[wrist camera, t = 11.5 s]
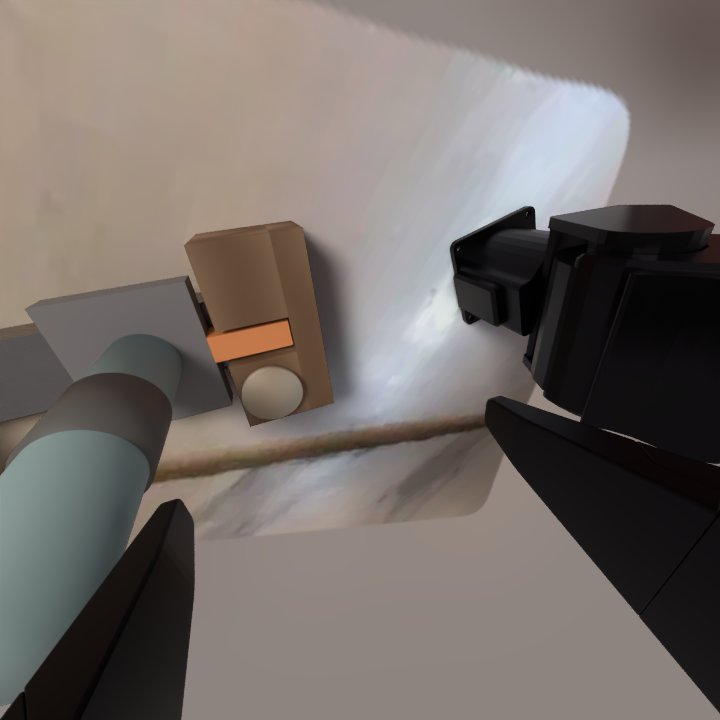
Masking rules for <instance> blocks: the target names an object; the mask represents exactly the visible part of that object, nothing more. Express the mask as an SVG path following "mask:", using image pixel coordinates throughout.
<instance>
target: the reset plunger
mask: <svg viewBox="0 0 720 720" xmlns="http://www.w3.org/2000/svg"><path fill="white" fill-rule="evenodd" d="M206 339H207V342H208V344H209V347H210V349H211V352H212V355H213V357H214V360H215V362H216V363H217V362H222V361H226V360H230V359H234V358H239V357H243V356H247V355H252V354H256V353H260V352H265V351H269V350H273V349H278V348H282V347H286V346H290V345H293V341H292V337H291V332H290V328H289V324H288V320H287V318H283V319H278V320H273V321H268V322H264V323H259V324H254V325H250V326H245V327H240V328H235V329H231V330H226V331H221V332H215V329H214V327H210V328H209V329H208V333H207V337H206Z"/></svg>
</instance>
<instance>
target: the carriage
mask: <svg viewBox="0 0 720 720" xmlns="http://www.w3.org/2000/svg"><path fill="white" fill-rule="evenodd" d="M25 310H26V312H27V313H28V315H29V316H30V317H31V319H32V320H33V322H34V323H35V325H36V326H37V328H38V329H39V331H40V332H41V334H42V335H43V337H44V338H45V340H46V341H47V343H48V344H49V345H50V347H51V348H52V350H53V351H54V353H55V354H56V356H57V357H58V359H59V360H60V362H61V363H62V365H63V366H64V368H65V369H66V371H67V372H68V373H69V375H70V376H71V378H72V379H73V381H74V383H73V384H72V385H70V386H69V387H68V388H67V389H66V390H65V391H64V393H63V394H62V395H61V396H60V397H59V398H58V399H57V401H56V402H55V403H54V404H53V405H52V406H51V407H50V409H49V410H48V411H47V412H46V413H45V414H44V415H43V417H42V418H41V419H40V420H39V421H38V422H37V423H36V425H35V426H34V427H33V428H32V429H31V430H30V431H29V433H28V434H27V435H26V436H25V437H24V438H23V439H22V441H21V442H20V443H19V444H18V445H17V446H16V447H15V449H14V450H13V451H12V452H11V454H10V455H9V457H8V459H7V462H6V466H5V471H4V472H3V473H2V474H1V475H0V706H3V705H7V704H10V703H13V701H14V700H15V699H16V697H17V696H18V695H19V693H21V692H23V691H24V687H25V685H26V684H27V683H28V681H29V680H30V679H31V677H32V676H33V675H34V673H35V672H36V671H37V669H38V668H39V667H40V665H41V664H42V663H43V661H44V660H45V659H46V657H47V656H48V655H49V653H50V652H51V650H52V649H53V648H54V646H55V645H56V644H57V642H58V641H59V640H60V638H61V637H62V636H63V634H64V633H65V632H66V630H67V629H68V628H69V626H70V625H71V624H72V622H73V621H74V620H75V618H76V617H77V616H78V614H79V613H80V612H81V610H82V609H83V608H84V606H85V605H86V603H87V602H88V601H89V599H90V598H91V597H92V595H93V594H94V593H95V591H96V590H97V589H98V587H99V586H100V585H101V583H102V582H103V581H104V579H105V578H106V577H107V575H108V574H109V573H110V571H111V570H112V569H113V567H114V566H115V565H116V563H117V562H118V561H119V559H120V558H121V557H122V555H123V554H124V552H125V550H126V547H127V543H128V540H129V537H130V534H131V531H132V528H133V525H134V522H135V519H136V515H137V512H138V509H139V506H140V503H141V500H142V497H143V494H144V493H145V492H146V491H147V490H148V489H149V487H150V486H151V484H152V482H153V480H154V477H155V473H156V470H157V467H158V463H159V460H160V457H161V453H162V450H163V447H164V444H165V440H166V437H167V434H168V430H169V427H170V424H171V421H173V420H177V419H181V418H185V417H189V416H192V415H196V414H200V413H204V412H208V411H211V410H215V409H219V408H223V407H226V406H230V405H232V399H233V393H232V390H231V387H230V385H229V382H228V379H227V377H226V374H225V371H224V369H223V366H222V363H221V362H217V363H216V362H215V360H214V357H213V355H212V352H211V349H210V347H209V344H208V342H207V339H206V337H207V333H208V326H207V324H206V321H205V318H204V316H203V313H202V310H201V308H200V305H199V302H198V300H197V297H196V294H195V292H194V289H193V287H192V284H191V281H190V279H189V276H182V277H176V278H170V279H164V280H158V281H152V282H146V283H140V284H134V285H128V286H123V287H117V288H111V289H105V290H99V291H93V292H87V293H81V294H75V295H69V296H63V297H57V298H51V299H45V300H40V301H39V302H37V303H35V304H33V305H31V306H29V307H28V308H26V309H25Z"/></svg>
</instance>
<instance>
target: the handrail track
mask: <svg viewBox="0 0 720 720" xmlns="http://www.w3.org/2000/svg"><path fill="white" fill-rule="evenodd" d="M196 297H197V300H198V302H199V305H200V308H201V310H202V313H203V316H204V318H205V321H206V324H207V326H208V329H209V328H210V327H214V326H213V323H212V321H211V318H210V315H209V312H208V310H207V307H206V304H205V301H204V299H203V296H202V293H196ZM221 363H222V366H223V369H225V368H229V360H226V361H222V362H221ZM73 383H74V381H73V379H72V378H71V376H70V375H69V373H68V372H67V371H66V369H65V368H64V366H63V365H62V363H61V362H60V360H59V359H58V357H57V356H56V354H55V353H54V351H53V350H52V348H51V347H50V345H49V344H48V343H47V341H46V340H45V338H44V337H43V335H42V334H41V332H40V331H39V329H38V328H37V326H36V325H35V323H31V324H26V325H20V326H15V327H9V328H4V329H0V422H2V421H7V420H11V419H15V418H19V417H23V416H28V415H32V414H36V413H40V412H44V411H48V410H49V409H50V407H51V406H52V405H53V404H54V403H55V402H56V401H57V399H58V398H59V397H60V396H61V395H62V394H63V393H64V391H65V390H66V389H67V388H68V387H69V386H70V385H72V384H73Z"/></svg>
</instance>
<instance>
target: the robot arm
mask: <svg viewBox="0 0 720 720" xmlns="http://www.w3.org/2000/svg"><path fill="white" fill-rule="evenodd" d="M527 212H528V214H527V216H526V213H527ZM714 226H715V224H714V223H712V222H710V221H708V220H705V219H703V218H701V217H698V216H696V215H694V214H691V213H689V212H686V211H684V210H682V209H679V208H677V207H675V206H672V205H616V206H609V207H604V208H598V209H592V210H586V211H580V212H574V213H568V214H563V215H557V216H551V217H550V221H549V226H548V228H550V231H543V230H536V224H535V209H534V208H533V207H531V206H525V207H523V208H521V209H519V210H516V211H514V212H512V213H510V214H508V215H506V216H504V217H502V218H500V219H498V220H496V221H494V222H492V223H490V224H488V225H486V226H484V227H482V228H480V229H478V230H476V231H474V232H472V233H470V234H468V235H466V236H463V237H461V238H459V239H457V240H455V241H454V242H453V243H452V244H451V247H450V253H451V258H452V263H453V268H454V277H453V278H454V283H455V289H456V294H457V299H458V304H459V307H460V308H461V310H462V316H463V320H464V321H465V322H466V323H468V324H472V323H474V322H476V321H478V320H480V319H483V320H485V321H486V322H488V323H490V324H492V325H494V326H497V327H498V326H500V325H503V326H505V327H507V328H509V329H511V330H512V331H514V332H516V333H518V334H520V335H522V336H527V335H529V334H530V335H529V341H528V346H527V351H526V353H525V354H524V357H523V363H524V364H525V366H526V367H527V368H528V369H529V371H530V372H531V373H532V377H533V379H534V380H535V382H536V383H537V384H538V385H539V386H540V387H541V388H542V389H543V390H544V392H543V396H544V397H545V398H546V399H547V400H549V401H551V402H552V403H554V404H555V405H557V406H558V407H560V408H563V409H565V410H566V411H568V412H570V413H572V414H575V415H577V416H580V417H581V420H580V422H578V421H574V420H571V419H568V418H565V417H563V416H559V415H557V414H554V413H551V412H547V411H545V410H542V409H539V408H535V407H533V406H530V405H527V404H524V403H521V402H518V401H515V400H511V399H508V398H505V397H502V396H497V397H494V398H491V399H488V401H487V403H486V410H485V417H484V420H485V424H486V426H487V428H488V429H489V431H490V432H491V434H492V435H493V437H494V438H495V440H496V441H497V443H498V444H499V445H500V447H501V448H502V450H503V451H504V453H505V454H506V456H507V457H508V459H509V460H510V461H511V463H512V464H513V466H514V467H515V468H516V469H517V471H518V472H519V473H520V474H521V476H522V477H523V478H524V479H525V480H526V482H527V483H528V484H529V485H530V486H531V488H532V489H533V490H534V491H535V492H536V494H537V495H538V496H539V497H540V498H541V500H542V501H543V502H544V503H545V504H546V506H547V507H548V508H549V509H550V510H551V511H552V513H553V514H554V515H555V516H556V518H557V519H558V520H559V521H560V522H561V523H562V525H563V526H564V527H565V528H566V530H567V531H568V532H569V533H570V534H571V536H572V537H573V538H574V539H575V540H576V541H577V542H578V544H579V545H580V546H581V547H582V548H583V550H584V551H585V552H586V553H587V555H588V556H589V557H590V558H591V559H592V561H593V562H594V563H595V564H596V565H597V567H598V568H599V569H600V570H601V571H602V572H603V574H604V575H605V576H606V577H607V579H608V580H609V581H610V582H611V583H612V584H613V586H614V587H615V588H616V589H617V591H618V592H619V593H620V594H621V595H622V597H623V598H624V599H625V600H626V601H627V603H628V604H629V605H630V606H631V607H632V609H633V610H634V611H635V612H636V613H637V614H638V615H639V617H640V618H641V620H642V621H643V622H644V623H645V624H646V626H647V627H648V628H649V629H650V630H651V632H652V633H653V634H654V635H655V636H656V638H657V639H658V640H659V641H660V642H661V644H662V645H663V646H664V647H665V648H666V650H667V651H668V652H669V653H670V654H671V656H672V657H673V658H674V659H675V660H676V662H677V663H678V664H679V665H680V666H681V667H682V669H683V670H684V671H685V672H686V674H687V675H688V676H689V677H690V678H691V679H692V681H693V682H694V683H695V684H696V685H697V687H698V688H699V689H700V690H701V691H702V693H703V694H704V695H705V696H706V697H707V699H708V700H709V701H710V702H711V703H712V704H713V706H714V707H715V708H716V709H717V711H718V712H719V713H720V467H719V466H715V465H712V464H708V463H713V464H719V463H720V234H711V233H712V230H713V228H714ZM459 245H460V249H459V250H458V251H457V247H458V246H459ZM470 316H471V318H470V319H469V317H470ZM599 428H600V429H599ZM602 429H606V430H610V431H614V432H617V433H620V434H624V435H627V436H630V437H633V438H635V439H638V440H640V441H643V442H645V443H648V444H650V445H653V446H654V447H653V446H650V445H647V444H644V443H641V442H635V441H634V440H632V439H629V438H626V437H623V436H620V435H617V434H614V433H611V432H607V431H605V430H602ZM656 447H657V448H656ZM705 462H706V463H705ZM194 565H195V564H194V521H193V518H192V516H191V515H190V513H189V511H188V510H187V508H186V506H185V505H184V503H183V502H182V500H181V499H174V500H171V501H168V502H165V503H162V504H161V505H160V506H159V507H158V508H157V510H156V511H155V512H154V514H153V515H152V516H151V518H150V519H149V520H148V522H147V523H146V524H145V526H144V527H143V528H142V530H141V531H140V532H139V534H138V535H137V536H136V538H135V539H134V540H133V542H132V543H131V544H130V546H129V547H128V548H127V550H126V551H125V552H124V554H123V555H122V557H121V558H120V559H119V561H118V562H117V563H116V565H115V566H114V567H113V569H112V570H111V571H110V573H109V574H108V575H107V577H106V578H105V579H104V581H103V582H102V583H101V585H100V586H99V587H98V589H97V590H96V591H95V593H94V594H93V595H92V597H91V598H90V599H89V601H88V602H87V603H86V605H85V606H84V608H83V609H82V610H81V612H80V613H79V614H78V616H77V617H76V618H75V620H74V621H73V622H72V624H71V625H70V626H69V628H68V629H67V630H66V632H65V633H64V634H63V636H62V637H61V638H60V640H59V641H58V642H57V644H56V645H55V646H54V648H53V649H52V650H51V652H50V653H49V655H48V656H47V657H46V659H45V660H44V661H43V663H42V664H41V665H40V667H39V668H38V669H37V671H36V672H35V673H34V675H33V676H32V677H31V679H30V680H29V681H28V683H27V684H26V685H25V687H24V691H23V692H21V693H19V695H18V696H17V697H16V699H15V700H14V701H13V703H12V704H11V705H10V707H9V708H8V709H7V711H6V712H5V713H4V715H3V716H2V717H1V719H0V720H181V716H182V707H183V697H184V688H185V678H186V669H187V658H188V649H189V639H190V630H191V620H192V611H193V601H194V583H195V570H194Z"/></svg>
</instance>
